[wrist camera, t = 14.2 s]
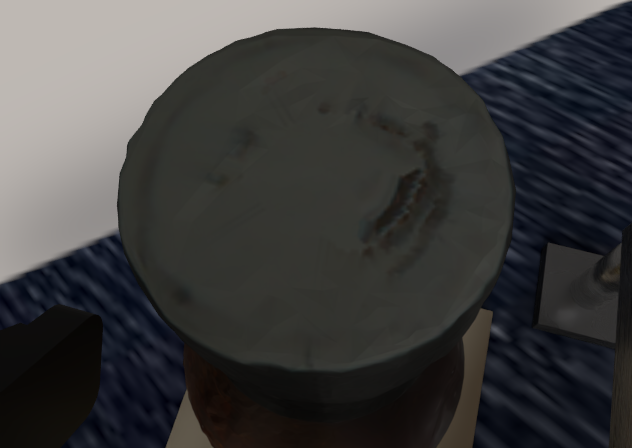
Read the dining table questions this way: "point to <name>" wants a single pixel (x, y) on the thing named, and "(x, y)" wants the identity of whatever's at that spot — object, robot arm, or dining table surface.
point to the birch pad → (192, 444)
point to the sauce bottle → (318, 236)
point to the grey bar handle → (593, 313)
